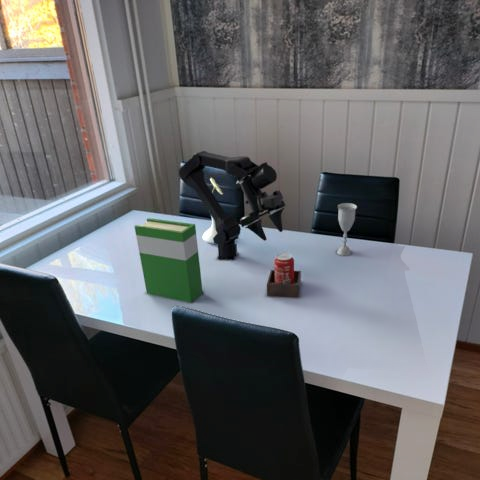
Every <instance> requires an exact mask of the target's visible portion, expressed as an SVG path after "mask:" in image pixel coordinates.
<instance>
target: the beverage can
mask: <svg viewBox="0 0 480 480" xmlns="http://www.w3.org/2000/svg"><path fill="white" fill-rule="evenodd" d="M273 263H274V266H273V267H274V270H275V282H274V283H275V284H295V283H294V271H295V259H294V257H293V255H292V254H291V253H288V252H280V253H278V254H276V256H275V258H274V262H273Z"/></svg>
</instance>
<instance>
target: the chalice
mask: <svg viewBox="0 0 480 480" xmlns="http://www.w3.org/2000/svg"><path fill="white" fill-rule="evenodd" d="M357 208H358V206H357V205H356V204H354V203H351V202H342V203H339V204H338V205H337V209H338V213H337V214H338V215H337V217H338V218H337V220H338V225H339V226H340V229H341V231H342V232H343V235H342V237H343V239H342V242H343V243H342V245H341V246H340V247H338V250H337V254H338V255H339V256H350V255H351V254H352V252H351V250H350V247H349V246H348V245H347V242H348V240H347V237H348V232H349V231H350V230H351V228H352V227H353V225H354V222H355V220H356V210H357Z"/></svg>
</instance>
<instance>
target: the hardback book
mask: <svg viewBox="0 0 480 480" xmlns="http://www.w3.org/2000/svg"><path fill="white" fill-rule="evenodd" d="M196 228H197V227H196V224H195V223H188V222H181V221H174V220H166V219H160V218H152V217H148V218H146V222H144V223H143V224H141V225H139V224H135V225H134V231H135V237H136V242H137V248H138V253H139V260H140V264H141V269H142V275H143V280H144V285H145V291H146V294H148V295H151V296H152V295H153V296H158V297H162V298H166V299H171V300H175V301H181V302H186V303H191V304H192V303H193V302H194V301H195V300H196V299H197V298H198V297H200V296H201V295H202V294H203V293H204V291H203V283H202V274H201V263H200V255H199V254H200V253H199V247H198V238H197V229H196Z"/></svg>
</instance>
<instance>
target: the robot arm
mask: <svg viewBox="0 0 480 480" xmlns="http://www.w3.org/2000/svg"><path fill="white" fill-rule="evenodd" d="M206 167H210V168H213V169H217V170H220V171H225V173H226V174H227V175H228V176H231V177H233V178H235V179H236V183H235V185H234V186H235V188H239V187H240V188H241V190H242V192H243V195H244V196H245V198H246V200H245V205H249V206H250V209H251V212H250V213H249V214H246V215H245V216H243V217H241V218H240V219H239V221H238V220H237V217H236V216H235V215H234V214H232V215H229V214H227V213H226V212H225V211H224V209H223V207H222V205H221V204H220V202H219V200H217V198H216V196H215V194H214V192H213V193H212V190H211V189H210V187H209V185H208V184H207V182H206V179H205V178H206V177H205V176H206V175H205V172H204V169H206ZM178 176H179V178H180V180H181V181H182V182H183V183H184V185H186V186H187V187H189V188H191V189H193V190H194V192H195V194H196V195H197V196H198V198H199V200H200V201H201V202H202V204H203V205H204V207H205V209H206V210H207V211H208V214H209V215H210V217H211V216H212V217H211V219H212V218H213V219H214V221H215V229H216V231H217V234H216V235H215V237H214V238H213V241H214V243H213V244H215V245H217V253H218V255H217V260H232V261H233V260H235V259H236V257H237V255H238V244H237V243H236V240H238V239H239V236H240V235H241V230H242V228H245V229H248V230H249V231H251V232H253V233H254V234H255V235H256V236H257V237H259V238H260V239H261V240H262V241H265V242H266V241H267V235H266V233H265V231H264V228H263V226H262V220H263V219H260V218H261V217H263V216H265V215H267V214H269V215H268V218H269V219H270V221H271V222H272V224H273V226H274V227H275V228H276V229H277V230H278V232H279V233H282V232H283V231H284V230H283V221H282V214H283V211H284V210H285V207H286V203H285V201H284V200H283V199H284V197H283V194H282V192H281V190H274V191H272V194H270V195H269V194H268V193H267V192H266V191H262V189H264V188H266V187H268V186H269V185H271V184H273V183H275V182H276V181H277V177H278V175H277V171H276V169H274V167H272V165H269V164H268V162H266V161H265V162H263V163H261V164H259V165H258V164H256V163H255V162H254V161H252V160H251V157H248V156H246V155H245V156H244V155H243V156H232V157H231V156H225V155H221V154H216V153H212V152H208V151H205V150H201V151H197V152H195V153H194V154H193V155H192V156H191V158H190V159H188V160H187V161H186V162H185V163H183V164H182V165H181V166H180V167H179V169H178Z"/></svg>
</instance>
